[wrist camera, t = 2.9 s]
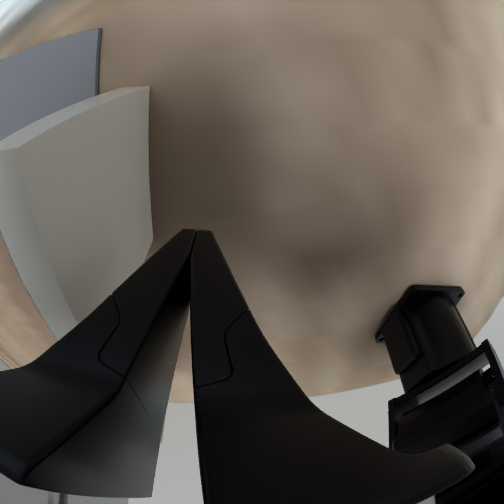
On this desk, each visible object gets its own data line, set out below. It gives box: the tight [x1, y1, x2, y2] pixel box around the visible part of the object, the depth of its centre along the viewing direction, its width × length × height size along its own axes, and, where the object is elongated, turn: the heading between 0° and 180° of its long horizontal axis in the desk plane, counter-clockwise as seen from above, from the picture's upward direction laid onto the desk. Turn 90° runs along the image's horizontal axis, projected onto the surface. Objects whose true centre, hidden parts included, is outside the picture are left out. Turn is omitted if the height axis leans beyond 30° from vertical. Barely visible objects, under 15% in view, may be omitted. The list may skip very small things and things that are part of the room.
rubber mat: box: [0, 28, 102, 141], centre depth 15 cm, size 9×27×1 cm, turn 172°
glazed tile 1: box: [0, 86, 153, 341], centre depth 9 cm, size 2×8×8 cm, turn 172°
